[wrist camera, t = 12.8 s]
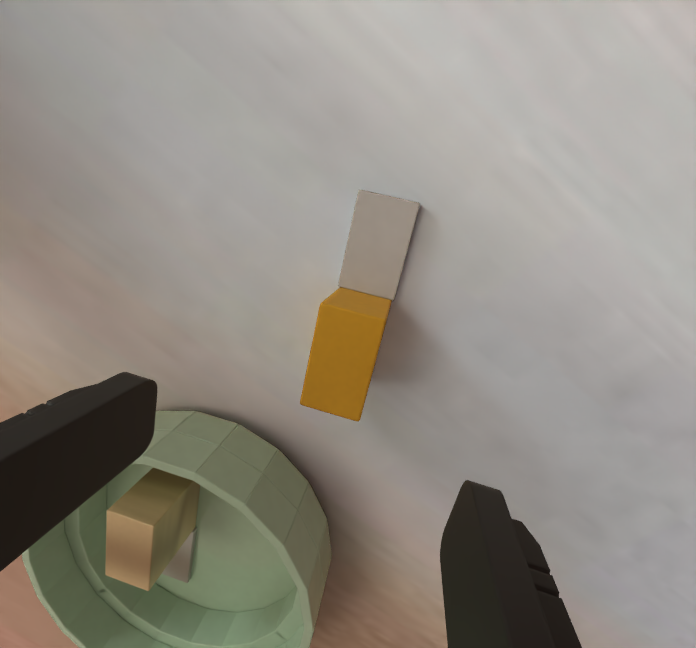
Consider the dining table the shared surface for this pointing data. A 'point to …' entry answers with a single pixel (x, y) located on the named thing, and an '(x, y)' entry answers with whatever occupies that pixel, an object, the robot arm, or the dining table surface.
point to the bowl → (197, 550)
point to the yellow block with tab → (358, 306)
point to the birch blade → (153, 530)
